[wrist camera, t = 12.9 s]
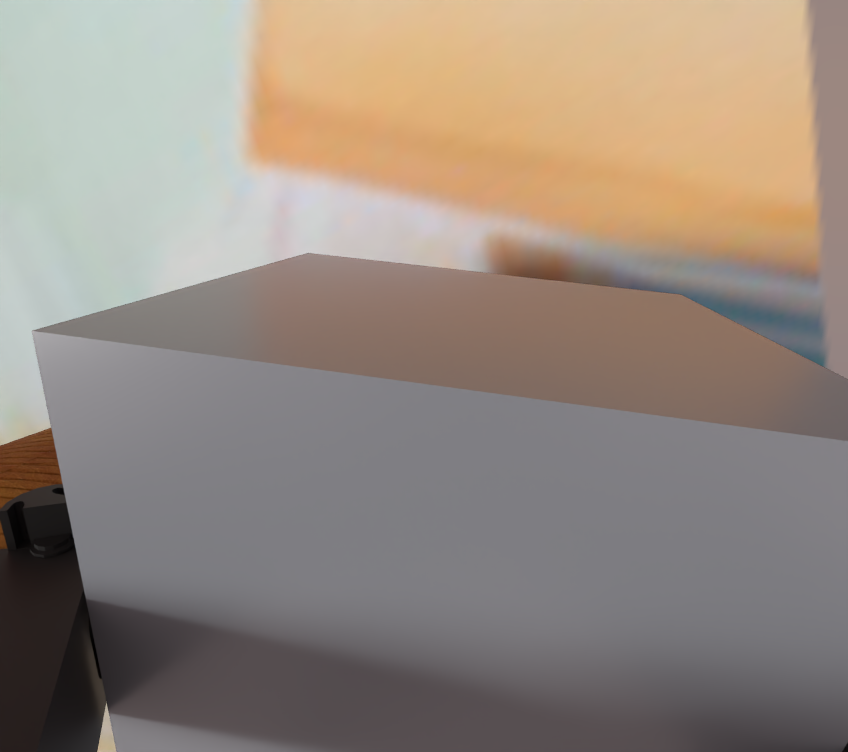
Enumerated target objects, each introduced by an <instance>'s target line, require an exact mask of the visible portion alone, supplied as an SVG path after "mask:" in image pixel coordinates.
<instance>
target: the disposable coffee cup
mask: <svg viewBox="0 0 848 752" xmlns="http://www.w3.org/2000/svg"><path fill="white" fill-rule="evenodd" d="M55 484H63V483H62V478H61V473H60V468H59V463H58V458H57V453H56V448H55V444H54V439H53V434H52V429H51V428H49V429H47V430H44V431H41V432H38V433H36V434H32V435H29V436H26V437H24V438H21V439H18V440H15V441H12V442H10V443H7V444H4V445H1V446H0V509H1V508H2V507H3V506H4V505H5V504H6V503H7V502H8V501H10V500H12V499H14V498H15V497H17V496H19V495H20V494H23V493H26V492H28V491H31V490H34V489H36V488H40V487H45V486H50V485H55ZM0 549H7V545H6V541H5V537H4V533H3V530H2V526H1V522H0Z"/></svg>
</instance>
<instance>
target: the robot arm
mask: <svg viewBox="0 0 848 752" xmlns="http://www.w3.org/2000/svg"><path fill="white" fill-rule="evenodd" d="M0 522H1V526H2V530H3V533H4V537H5V541H6V545H7V549H0V752H97V750H98V744H99V739H100V733H101V728H102V722H103V717H104V711H105V706H106V696H105V691H104V686H103V681H102V676H101V672H100V667H99V662H98V657H97V652H96V647H95V642H94V637H93V632H92V627H91V622H90V617H89V612H88V607H87V602H86V597H85V592H84V587H83V582H82V577H81V572H80V567H79V562H78V558H77V553H76V548H75V543H74V538H73V533H72V528H71V523H70V518H69V513H68V508H67V503H66V498H65V493H64V488H63V484H55V485H50V486H45V487H40V488H36V489H34V490H31V491H28V492H26V493H23V494H20V495H19V496H17V497H15V498H14V499H12V500H10V501H8V502H7V503H6V504H5V505H4V506H3V507H2V508H1V509H0ZM842 752H848V743H847V744H846V746H845V748H844V749H843V751H842Z"/></svg>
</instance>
